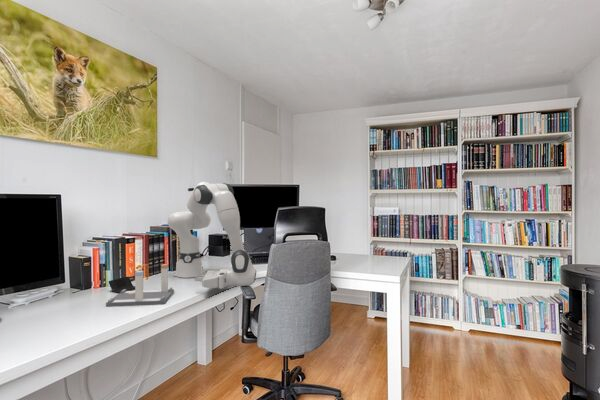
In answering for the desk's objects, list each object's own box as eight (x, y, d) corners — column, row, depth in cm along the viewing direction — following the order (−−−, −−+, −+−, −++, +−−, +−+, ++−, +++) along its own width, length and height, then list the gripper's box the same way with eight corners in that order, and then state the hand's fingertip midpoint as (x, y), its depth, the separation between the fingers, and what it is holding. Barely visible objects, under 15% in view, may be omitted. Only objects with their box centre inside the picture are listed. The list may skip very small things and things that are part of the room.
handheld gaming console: (123, 291, 156) (115, 273, 159) (113, 299, 157) (105, 281, 160) (141, 288, 167) (134, 272, 170) (132, 296, 168) (124, 279, 171)
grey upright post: (162, 289, 158) (162, 264, 158) (168, 289, 158) (168, 264, 158) (160, 291, 155) (160, 265, 155) (166, 291, 156) (167, 265, 156)
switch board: (122, 294, 155) (122, 289, 155) (174, 292, 159) (174, 287, 159) (105, 306, 138) (105, 300, 138) (164, 304, 141) (164, 298, 141)
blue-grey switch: (136, 299, 143) (137, 271, 143) (143, 298, 143) (143, 270, 143) (134, 301, 140) (135, 272, 140) (141, 300, 141) (141, 272, 141)
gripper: (225, 267, 171) (198, 267, 169) (222, 276, 151) (191, 277, 149) (225, 278, 171) (198, 279, 169) (221, 289, 151) (191, 290, 149)
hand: (195, 278), depth 159 cm, fingers closed
